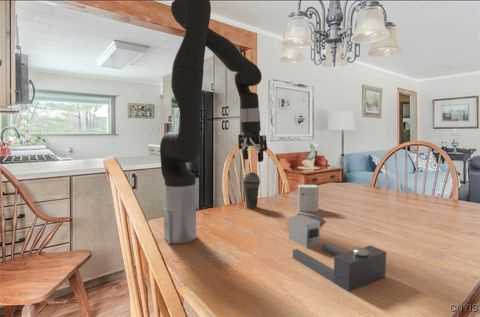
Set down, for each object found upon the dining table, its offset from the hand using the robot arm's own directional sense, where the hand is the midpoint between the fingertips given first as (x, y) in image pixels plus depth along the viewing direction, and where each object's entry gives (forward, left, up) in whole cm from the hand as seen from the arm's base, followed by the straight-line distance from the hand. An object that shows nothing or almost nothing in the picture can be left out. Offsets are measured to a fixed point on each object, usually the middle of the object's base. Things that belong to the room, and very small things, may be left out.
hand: (253, 160), depth 111 cm
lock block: (-2, -33, -22) cm, 40 cm away
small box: (+23, -7, -22) cm, 33 cm away
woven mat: (+12, -19, -23) cm, 32 cm away
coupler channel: (-6, -49, -22) cm, 54 cm away
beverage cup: (+4, +8, -22) cm, 24 cm away
